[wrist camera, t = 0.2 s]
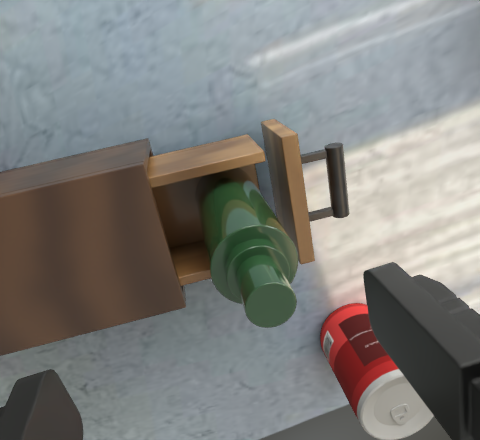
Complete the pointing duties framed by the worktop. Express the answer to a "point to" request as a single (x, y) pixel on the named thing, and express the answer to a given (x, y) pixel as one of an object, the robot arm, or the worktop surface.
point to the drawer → (245, 157)
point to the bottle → (247, 247)
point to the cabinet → (82, 247)
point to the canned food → (371, 376)
